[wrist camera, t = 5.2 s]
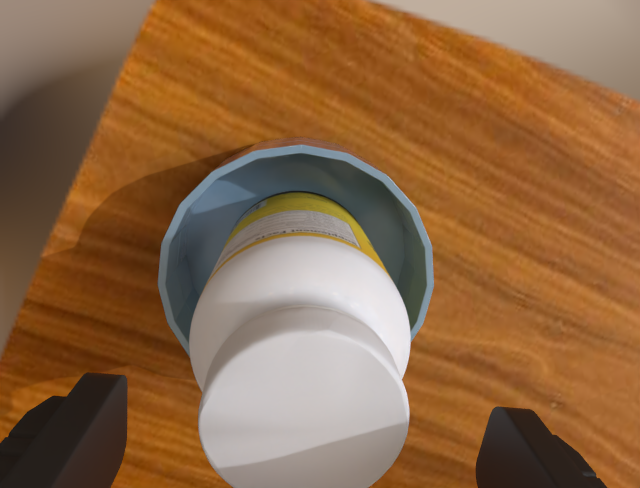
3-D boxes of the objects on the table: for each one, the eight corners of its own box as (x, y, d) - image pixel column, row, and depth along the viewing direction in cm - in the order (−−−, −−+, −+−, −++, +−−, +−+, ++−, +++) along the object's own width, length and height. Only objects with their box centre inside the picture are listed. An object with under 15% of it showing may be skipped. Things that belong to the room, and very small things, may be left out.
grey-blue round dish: (339, 381, 24) (348, 435, 20) (146, 296, 21) (115, 339, 18) (450, 207, 21) (485, 230, 17) (244, 91, 19) (233, 89, 15)
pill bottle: (326, 338, 22) (361, 572, 11) (204, 284, 21) (108, 489, 10) (392, 225, 21) (509, 367, 10) (264, 160, 19) (230, 238, 8)
